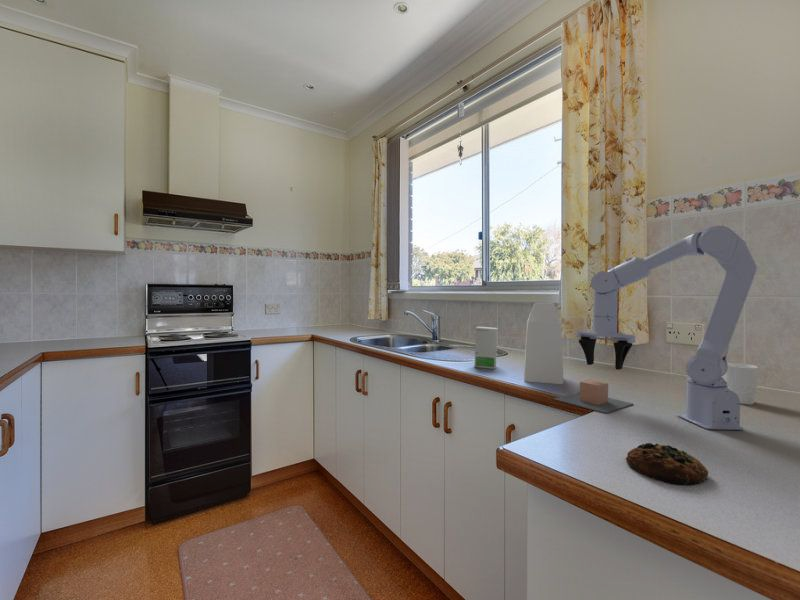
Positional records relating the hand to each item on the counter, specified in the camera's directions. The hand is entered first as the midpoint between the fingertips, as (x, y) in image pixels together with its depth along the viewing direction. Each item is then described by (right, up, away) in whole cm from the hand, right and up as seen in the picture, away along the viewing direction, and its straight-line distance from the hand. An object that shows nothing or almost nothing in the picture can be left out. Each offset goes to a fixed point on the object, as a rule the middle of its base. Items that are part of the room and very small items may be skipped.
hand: (604, 366), depth 103 cm
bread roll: (-12, -11, -40) cm, 43 cm away
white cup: (+38, -10, +2) cm, 39 cm away
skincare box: (-22, -8, +46) cm, 52 cm away
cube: (-3, -9, -1) cm, 10 cm away
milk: (-7, -9, +26) cm, 29 cm away
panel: (-4, -9, -1) cm, 10 cm away
